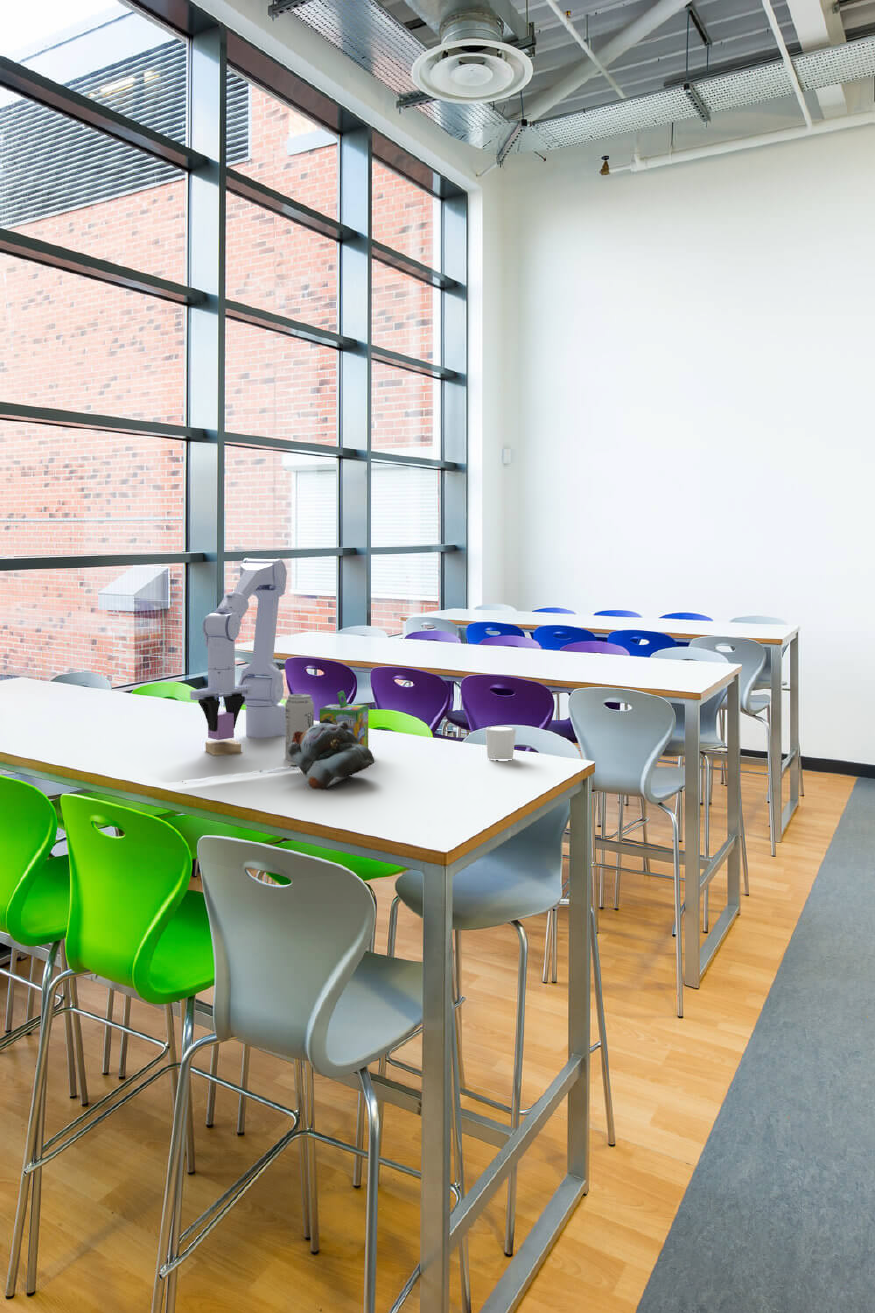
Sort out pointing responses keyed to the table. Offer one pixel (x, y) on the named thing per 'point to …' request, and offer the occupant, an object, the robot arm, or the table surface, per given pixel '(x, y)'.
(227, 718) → the purple block
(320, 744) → the grey stuffed animal
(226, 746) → the oak tile
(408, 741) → the table surface
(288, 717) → the energy drink can
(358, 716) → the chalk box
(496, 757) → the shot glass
